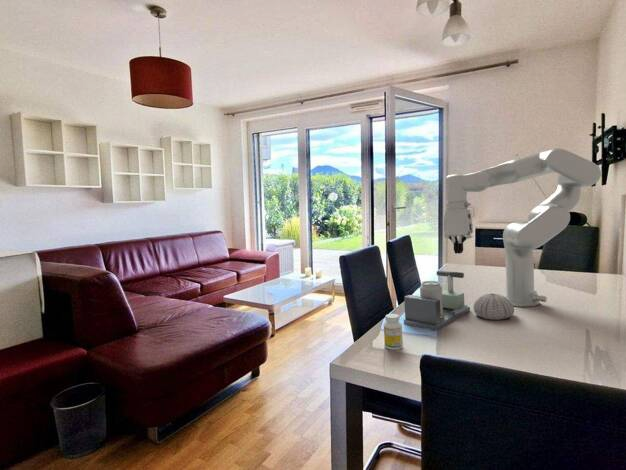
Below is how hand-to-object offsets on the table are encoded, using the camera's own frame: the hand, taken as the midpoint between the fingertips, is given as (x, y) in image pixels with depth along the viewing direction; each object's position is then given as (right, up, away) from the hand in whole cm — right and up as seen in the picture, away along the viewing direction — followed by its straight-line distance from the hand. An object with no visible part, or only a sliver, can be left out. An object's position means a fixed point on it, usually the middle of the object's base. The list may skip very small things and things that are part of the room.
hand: (458, 252), depth 145 cm
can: (-15, -22, -13) cm, 29 cm away
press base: (-12, -23, -10) cm, 28 cm away
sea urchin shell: (+7, -22, -13) cm, 27 cm away
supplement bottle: (-33, -27, -34) cm, 54 cm away
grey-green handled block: (-5, -20, -5) cm, 21 cm away
